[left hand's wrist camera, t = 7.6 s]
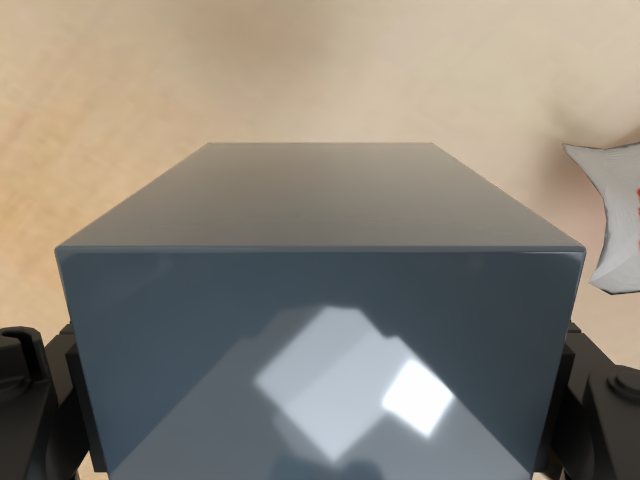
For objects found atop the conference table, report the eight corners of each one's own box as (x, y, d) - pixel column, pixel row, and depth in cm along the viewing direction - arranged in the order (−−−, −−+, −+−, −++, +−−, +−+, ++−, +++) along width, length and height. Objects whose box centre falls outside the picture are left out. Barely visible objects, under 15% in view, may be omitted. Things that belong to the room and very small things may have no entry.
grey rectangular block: (206, 142, 14) (49, 247, 6) (433, 142, 14) (590, 247, 6) (225, 337, 17) (134, 595, 8) (415, 337, 17) (506, 595, 8)
